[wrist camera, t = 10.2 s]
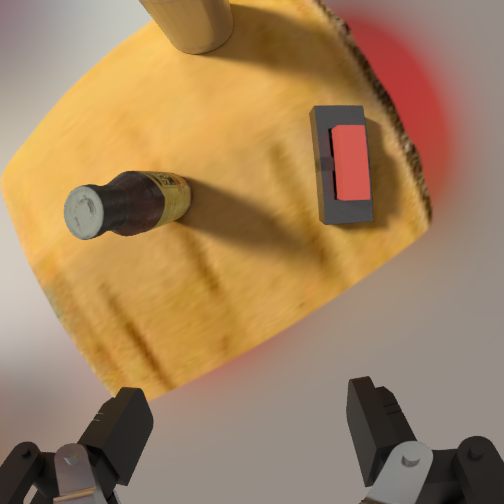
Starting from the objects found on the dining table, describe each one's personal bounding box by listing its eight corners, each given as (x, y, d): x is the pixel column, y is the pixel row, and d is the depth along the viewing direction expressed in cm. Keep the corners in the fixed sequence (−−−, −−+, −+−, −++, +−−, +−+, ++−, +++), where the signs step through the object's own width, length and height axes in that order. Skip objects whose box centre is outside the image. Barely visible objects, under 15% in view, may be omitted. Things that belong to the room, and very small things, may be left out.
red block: (325, 134, 35) (337, 124, 28) (347, 134, 35) (364, 125, 28) (330, 197, 37) (343, 200, 30) (352, 196, 37) (370, 199, 30)
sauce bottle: (196, 173, 37) (128, 168, 18) (192, 221, 39) (125, 260, 20) (149, 171, 38) (56, 169, 18) (146, 217, 39) (56, 250, 20)
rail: (309, 113, 35) (313, 105, 31) (353, 112, 34) (362, 105, 31) (319, 220, 38) (325, 224, 34) (363, 217, 38) (373, 221, 34)
